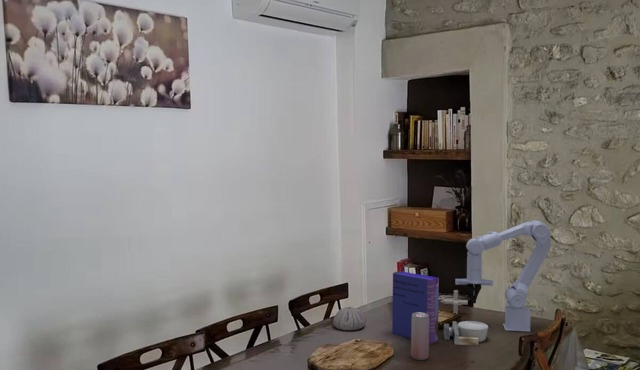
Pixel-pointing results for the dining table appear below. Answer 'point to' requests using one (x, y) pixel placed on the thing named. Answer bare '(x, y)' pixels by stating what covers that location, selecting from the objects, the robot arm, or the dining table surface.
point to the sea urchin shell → (349, 319)
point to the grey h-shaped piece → (451, 332)
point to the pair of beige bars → (468, 341)
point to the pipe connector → (455, 302)
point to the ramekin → (473, 329)
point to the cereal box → (414, 302)
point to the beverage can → (420, 336)
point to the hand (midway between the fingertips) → (473, 302)
